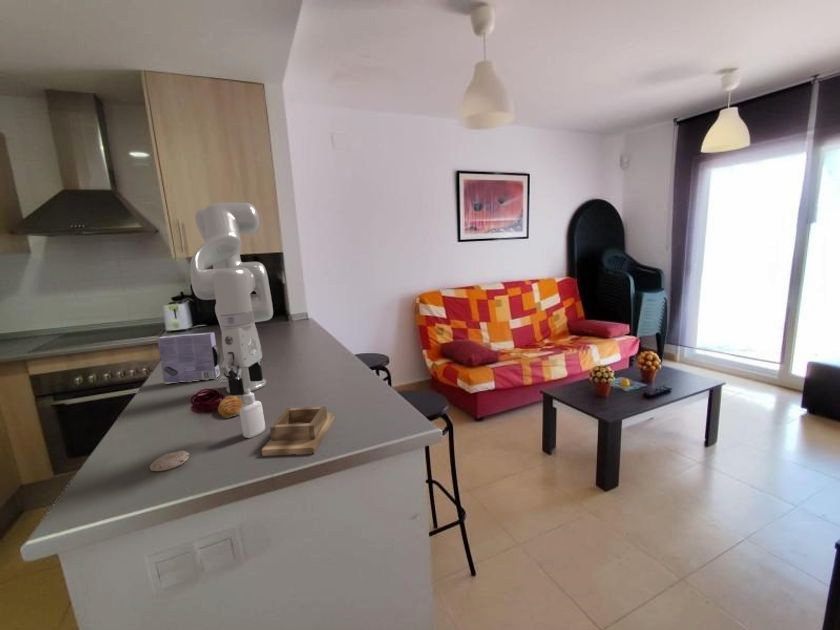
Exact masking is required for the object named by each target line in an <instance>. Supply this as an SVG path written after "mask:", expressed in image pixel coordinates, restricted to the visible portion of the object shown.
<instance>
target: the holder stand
mask: <svg viewBox="0 0 840 630" xmlns="http://www.w3.org/2000/svg"><path fill="white" fill-rule="evenodd" d="M335 415H336V414H335V412H328V411H327V406H311V407H310V406H309V407H291V408H290V407H287V408H286V409H285V410H284V411H283V412H282V413H281V414H280V416H278V417H277V418H276V420H274V422H273V423H272V425H270V427H269V431H270V436H271V438H270V439H269V441H267V442H266V444H265V445H264V446H263V447H262V449H261V454H262V457H266V456H267V457H268V456H269V457H270V456H290V455H291V454H296V455H313V454H314V453H315V454H316V452H317V450H318V449H319V447H318V446H320V445H321V443H322V441H323V440H324V438H325V436H326V434H327V432H328V430H329V429H330V428H331V426H332V424H333V422H334V420H335V419H336V418H335V417H336V416H335ZM322 439H323V440H322ZM312 453H313V454H312ZM291 456H292V455H291Z"/></svg>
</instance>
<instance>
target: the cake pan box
mask: <svg viewBox="0 0 840 630" xmlns="http://www.w3.org/2000/svg"><path fill="white" fill-rule="evenodd" d="M216 342H217V341H216V335H215V332H214V331H213V332H203V333H187V334H176V335H174V334H173V335H164V336H163V335H162V336H160V337H158V338H157V345H158V352H159V358H160V363H161V370H162V377H163V384H164V383H165V382H180V381H193V380H205V381H207V380H206V379H215V378H217V377H218V376H219V375H220V376H221V372H220V362H221V351H220V350H219V349H220V348H219V347H218V346H217V343H216ZM218 378H219V377H218ZM218 378H217V379H218Z"/></svg>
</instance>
